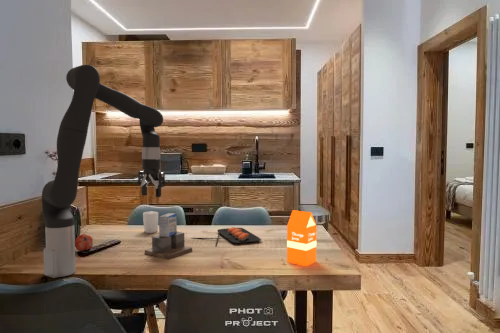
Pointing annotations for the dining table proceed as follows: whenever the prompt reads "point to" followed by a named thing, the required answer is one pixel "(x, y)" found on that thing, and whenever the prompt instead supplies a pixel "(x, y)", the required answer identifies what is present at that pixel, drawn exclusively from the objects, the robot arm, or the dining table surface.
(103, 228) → the dining table surface
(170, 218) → the medicine box
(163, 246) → the display stand
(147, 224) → the white cup
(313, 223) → the orange juice
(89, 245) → the red tomato
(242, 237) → the sushi plate
